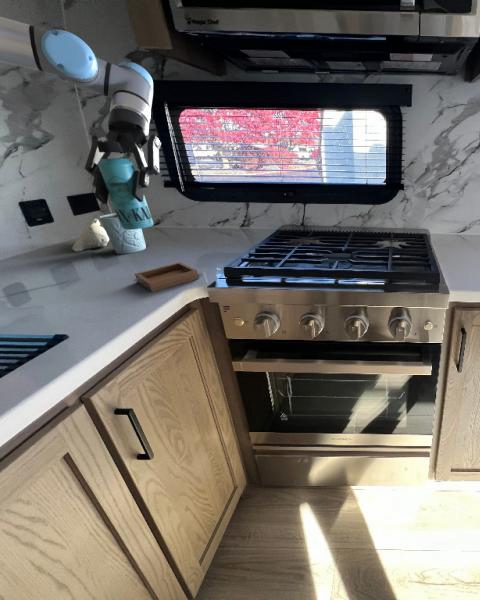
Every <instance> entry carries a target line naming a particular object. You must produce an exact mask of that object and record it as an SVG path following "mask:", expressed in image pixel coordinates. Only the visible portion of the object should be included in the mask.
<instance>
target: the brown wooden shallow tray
mask: <svg viewBox="0 0 480 600" xmlns="http://www.w3.org/2000/svg"><path fill="white" fill-rule="evenodd" d="M134 276H135V279H136V281H137V283H139V284H140V285H141V286H143V287H144V288H146V289H147V290H148V291H149V292H151V293H154V292H157V291H160V290H164V289H168V288H171V287H175V286H178V285H181V284H184V283H188V282H191V281H194V280H198V279H200V276H199V272H198V270H197V269H195V268H193V267H191V266H189V265H187V264H184V263H182V262H175V263H172V264H168V265H164V266H160V267H156V268H151V269H148V270H144V271H140V272H136V273H134Z"/></svg>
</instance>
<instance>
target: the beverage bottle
mask: <svg viewBox="0 0 480 600" xmlns="http://www.w3.org/2000/svg"><path fill="white" fill-rule="evenodd" d="M97 145H98V149H99V152H123V150H122V148H121V146H120V143H119V142H112V141H105V142H98V143H97ZM98 166H99V168H100V171H101V173H102V176H103V178H104V181H105V184H106V187H107V188H106V189H108V192H109V195H108V198H110V200H111V203H112V207H113V208H114V213H117V214H116V215H117V217H118V220H119V222H120V223H121V225H122V227H123V229H127V230H131V229H146V228H149V227H152V226H154V219H153V215H152V213H151V210H150V207H149V205H148V201H147V198H146V196H145V193H144V197H143V202H139V201H138V200H137V199H136V198H135V197H134V196H133V195H132V188H133V180H134V172H135V171H136V169H135V165H134V163H133V162H132V161H131V160H129V159H128V158H126V157H120V158H117V159H102V160H101V161H100V162H99V164H98Z"/></svg>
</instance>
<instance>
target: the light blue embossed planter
mask: <svg viewBox="0 0 480 600" xmlns="http://www.w3.org/2000/svg"><path fill="white" fill-rule="evenodd" d="M116 214H117V213H116V212H114V213H108V214H103V215H100V216H99V221H100V223H101V224H102V227H103V228H104V230H105V231H106V232H107V235H108V237H109V241H110V243H111V245H112V248H113V250H114V252H115V253H116V254H118V255H124V254H125V255H126V254H133V253H138V252H142V251H144V250H145V249H147V245H146V241H145V237H144V233H143V228H141V229H131V230H127V229H123V227H122V225H121V223H120V222H119V220H118V217H117V215H116Z"/></svg>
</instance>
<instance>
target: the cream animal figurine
mask: <svg viewBox="0 0 480 600" xmlns="http://www.w3.org/2000/svg"><path fill="white" fill-rule="evenodd" d="M101 224H102V223H101V221H100V220H99V219H97V218H94V219H93V220H92V221H91V222H90V223H89V225H88V226H87V227H86V229H85V230H83V232H82V233H81V235H80V236H79V237H78V238H77V239H76V241H75V243H74V244H73V246H71V249H72V251H74V252H83V251H85V250H88V249H90V250H91V249H95V248H104V247H107V245H108V243H109V241H110V239H109V237H108V235H107V232H106V230H105V228H104V227H103V226H101Z"/></svg>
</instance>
